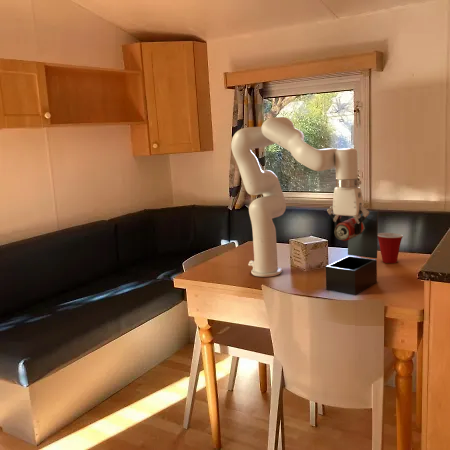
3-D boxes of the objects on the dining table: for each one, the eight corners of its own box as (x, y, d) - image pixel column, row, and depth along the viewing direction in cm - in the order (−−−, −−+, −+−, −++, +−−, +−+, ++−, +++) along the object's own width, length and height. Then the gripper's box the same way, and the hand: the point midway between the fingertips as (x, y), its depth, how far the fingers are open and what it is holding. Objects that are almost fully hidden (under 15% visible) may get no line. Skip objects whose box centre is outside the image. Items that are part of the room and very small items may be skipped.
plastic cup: (409, 261, 209) (409, 233, 207) (392, 266, 203) (392, 237, 201) (387, 256, 218) (387, 230, 215) (371, 261, 212) (371, 234, 210)
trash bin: (355, 295, 173) (354, 270, 171) (326, 289, 180) (325, 266, 179) (376, 282, 184) (376, 259, 183) (348, 277, 192) (348, 255, 191)
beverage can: (332, 241, 177) (331, 222, 175) (346, 234, 186) (346, 216, 184) (351, 243, 172) (350, 224, 171) (365, 235, 181) (364, 217, 180)
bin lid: (377, 211, 180) (378, 211, 181) (348, 209, 188) (349, 209, 189) (376, 258, 182) (377, 258, 183) (347, 254, 190) (348, 254, 191)
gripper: (374, 182, 172) (375, 232, 175) (330, 182, 184) (332, 229, 187) (364, 185, 167) (365, 237, 170) (319, 184, 178) (321, 233, 182)
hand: (348, 232), depth 178 cm, fingers closed on beverage can, 7 cm apart
